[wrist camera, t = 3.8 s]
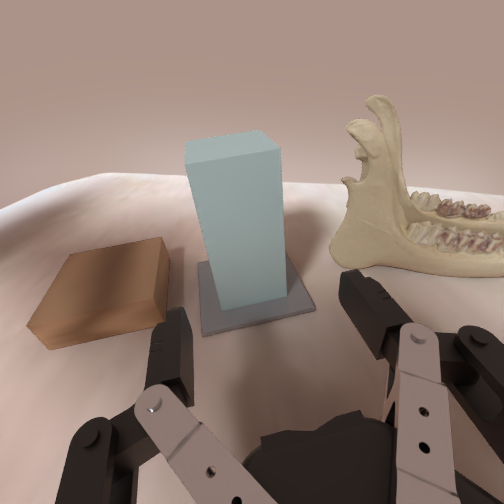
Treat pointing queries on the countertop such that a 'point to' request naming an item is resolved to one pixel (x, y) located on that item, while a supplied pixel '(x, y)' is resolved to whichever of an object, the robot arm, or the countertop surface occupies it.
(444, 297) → the countertop surface
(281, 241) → the block
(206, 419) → the countertop surface
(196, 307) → the countertop surface
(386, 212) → the jawbone
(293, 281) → the gray tile
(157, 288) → the stand
